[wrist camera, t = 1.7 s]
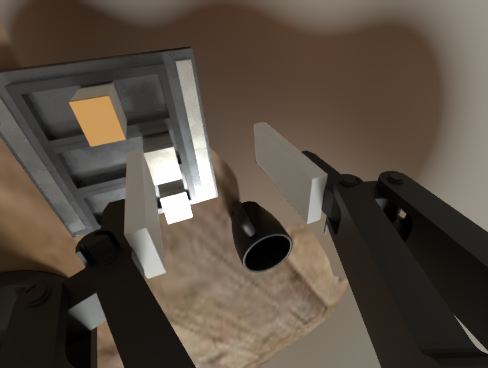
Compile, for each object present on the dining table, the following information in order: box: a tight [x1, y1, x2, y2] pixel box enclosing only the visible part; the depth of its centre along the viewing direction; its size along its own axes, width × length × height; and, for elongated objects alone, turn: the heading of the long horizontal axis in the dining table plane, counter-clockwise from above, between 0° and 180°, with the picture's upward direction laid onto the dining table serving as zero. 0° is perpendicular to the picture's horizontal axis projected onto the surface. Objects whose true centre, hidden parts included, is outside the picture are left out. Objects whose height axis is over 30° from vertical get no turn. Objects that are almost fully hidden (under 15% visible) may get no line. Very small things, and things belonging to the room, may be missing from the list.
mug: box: [231, 201, 293, 272], centre depth 39 cm, size 8×12×10 cm
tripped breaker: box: [69, 82, 127, 147], centre depth 23 cm, size 3×4×5 cm
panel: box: [0, 47, 218, 238], centre depth 28 cm, size 20×20×6 cm
